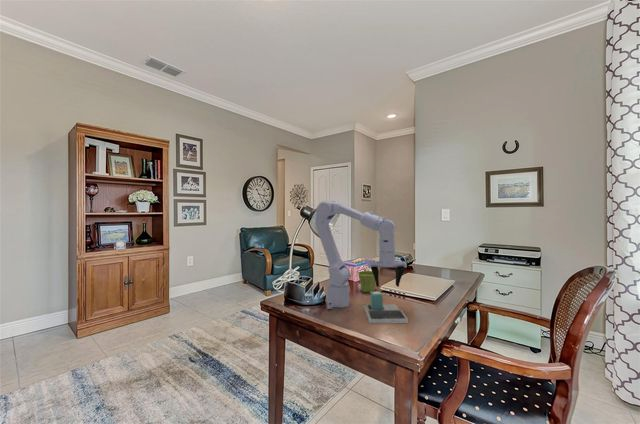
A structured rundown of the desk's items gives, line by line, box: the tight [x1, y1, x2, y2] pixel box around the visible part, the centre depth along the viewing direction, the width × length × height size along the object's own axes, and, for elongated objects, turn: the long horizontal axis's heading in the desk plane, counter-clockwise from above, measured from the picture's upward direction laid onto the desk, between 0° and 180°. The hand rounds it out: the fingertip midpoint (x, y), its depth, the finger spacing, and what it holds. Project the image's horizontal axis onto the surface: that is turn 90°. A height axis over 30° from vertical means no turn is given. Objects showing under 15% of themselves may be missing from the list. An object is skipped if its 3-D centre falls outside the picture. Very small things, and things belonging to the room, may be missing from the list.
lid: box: [363, 303, 400, 313], centre depth 103 cm, size 13×8×1 cm, turn 88°
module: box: [369, 291, 384, 310], centre depth 103 cm, size 4×4×6 cm
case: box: [365, 309, 409, 324], centre depth 95 cm, size 13×8×2 cm, turn 88°
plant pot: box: [357, 270, 376, 294], centre depth 126 cm, size 9×9×9 cm
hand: (387, 285), depth 101 cm, fingers open, 7 cm apart
